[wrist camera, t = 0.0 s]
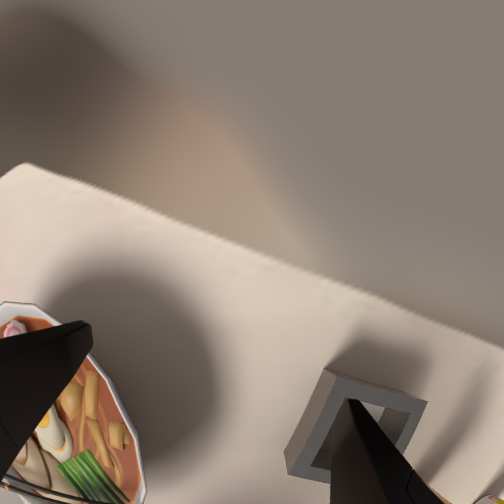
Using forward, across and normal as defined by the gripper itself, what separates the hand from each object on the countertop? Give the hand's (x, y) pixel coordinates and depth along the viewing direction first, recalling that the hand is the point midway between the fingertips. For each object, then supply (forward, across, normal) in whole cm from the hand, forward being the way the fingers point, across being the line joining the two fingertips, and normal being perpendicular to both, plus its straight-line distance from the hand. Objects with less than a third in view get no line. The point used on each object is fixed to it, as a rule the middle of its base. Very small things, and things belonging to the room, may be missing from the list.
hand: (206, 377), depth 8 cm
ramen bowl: (+6, +15, +19) cm, 25 cm away
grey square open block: (+10, -11, +12) cm, 19 cm away
